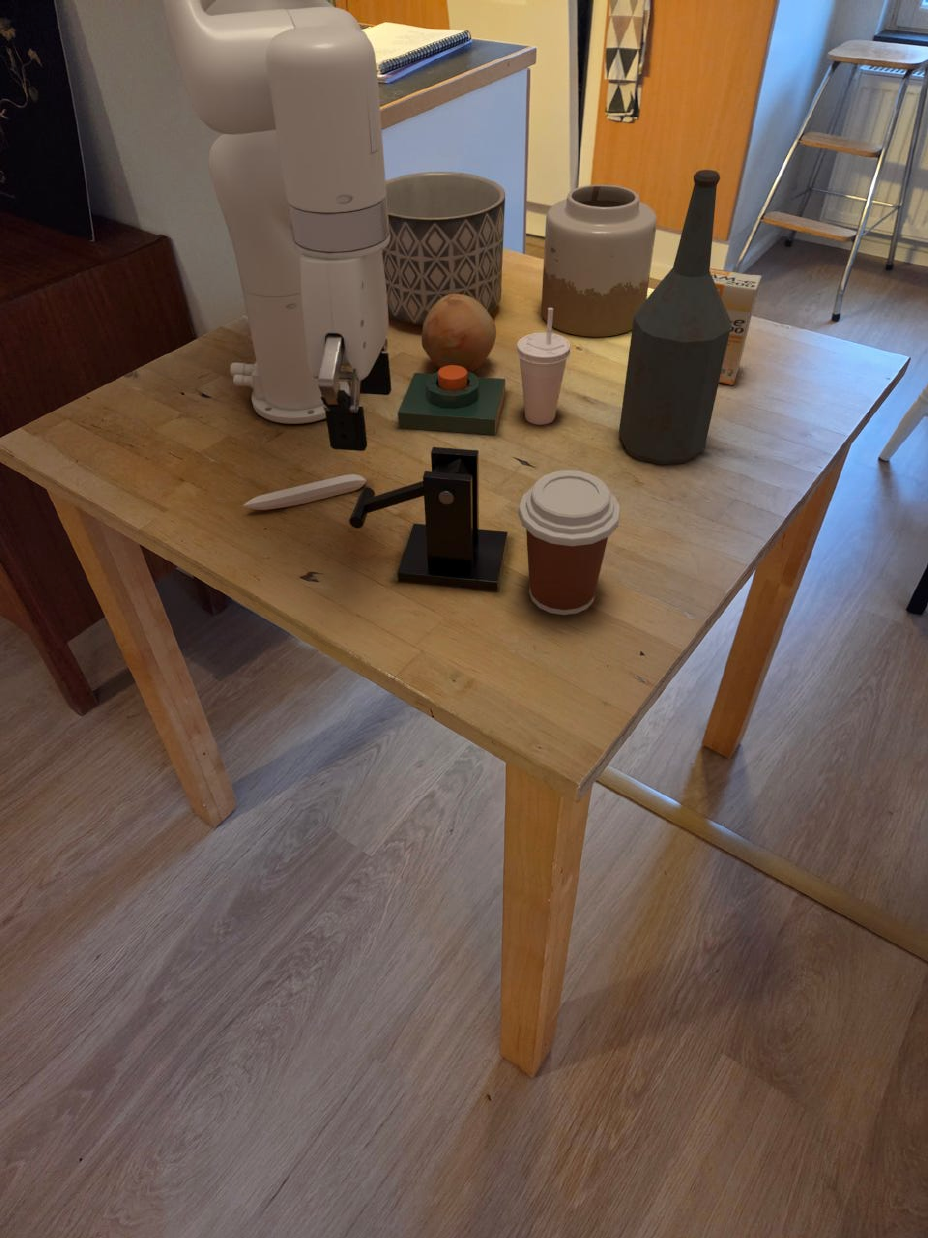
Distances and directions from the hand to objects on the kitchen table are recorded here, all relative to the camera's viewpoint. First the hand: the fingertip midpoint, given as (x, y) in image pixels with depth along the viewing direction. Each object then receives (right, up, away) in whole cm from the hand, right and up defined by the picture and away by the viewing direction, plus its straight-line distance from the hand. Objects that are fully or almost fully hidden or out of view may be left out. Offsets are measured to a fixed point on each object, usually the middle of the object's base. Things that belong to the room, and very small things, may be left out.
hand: (362, 419), depth 77 cm
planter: (+6, +29, +52) cm, 60 cm away
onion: (+9, +16, +39) cm, 43 cm away
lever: (+4, -7, +5) cm, 10 cm away
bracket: (+8, -12, +9) cm, 17 cm away
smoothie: (+19, +7, +29) cm, 35 cm away
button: (+8, +11, +28) cm, 31 cm away
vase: (+28, +27, +50) cm, 64 cm away
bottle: (+33, +3, +25) cm, 41 cm away
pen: (-8, -5, +17) cm, 20 cm away
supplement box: (+42, +15, +37) cm, 57 cm away
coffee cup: (+19, -16, +6) cm, 25 cm away
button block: (+8, +8, +31) cm, 33 cm away
